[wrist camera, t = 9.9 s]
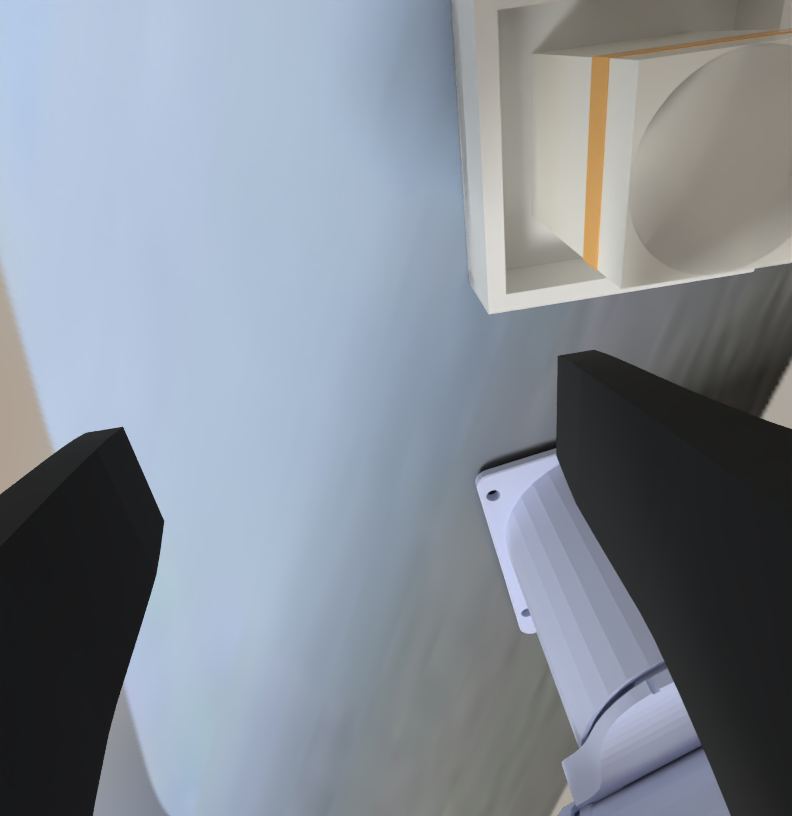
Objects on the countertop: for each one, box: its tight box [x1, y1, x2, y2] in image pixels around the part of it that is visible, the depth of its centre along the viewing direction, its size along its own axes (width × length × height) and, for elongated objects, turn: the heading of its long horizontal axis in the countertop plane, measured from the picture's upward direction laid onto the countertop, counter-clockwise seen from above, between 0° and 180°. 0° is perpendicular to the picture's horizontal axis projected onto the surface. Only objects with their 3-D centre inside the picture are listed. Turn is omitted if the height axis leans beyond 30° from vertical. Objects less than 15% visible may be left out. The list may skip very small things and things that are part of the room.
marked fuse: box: [532, 28, 792, 289], centre depth 14 cm, size 4×4×6 cm
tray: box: [451, 0, 792, 314], centre depth 16 cm, size 8×8×3 cm
